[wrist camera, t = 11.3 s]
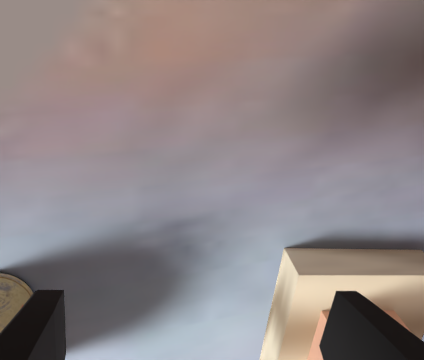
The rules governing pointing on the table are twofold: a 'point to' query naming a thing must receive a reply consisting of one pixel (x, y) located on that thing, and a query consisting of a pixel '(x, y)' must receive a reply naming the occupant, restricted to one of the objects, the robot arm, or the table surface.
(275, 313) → the birch block
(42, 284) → the table surface
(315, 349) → the terracotta block
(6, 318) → the yellow package
